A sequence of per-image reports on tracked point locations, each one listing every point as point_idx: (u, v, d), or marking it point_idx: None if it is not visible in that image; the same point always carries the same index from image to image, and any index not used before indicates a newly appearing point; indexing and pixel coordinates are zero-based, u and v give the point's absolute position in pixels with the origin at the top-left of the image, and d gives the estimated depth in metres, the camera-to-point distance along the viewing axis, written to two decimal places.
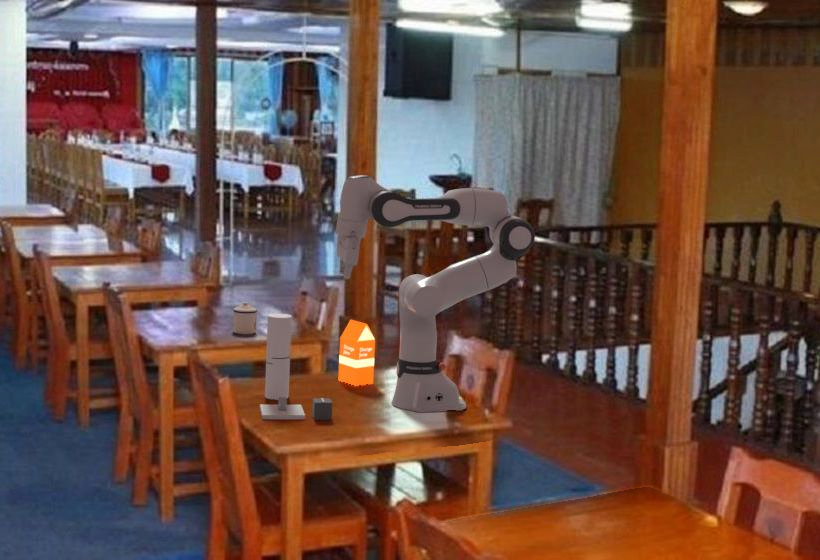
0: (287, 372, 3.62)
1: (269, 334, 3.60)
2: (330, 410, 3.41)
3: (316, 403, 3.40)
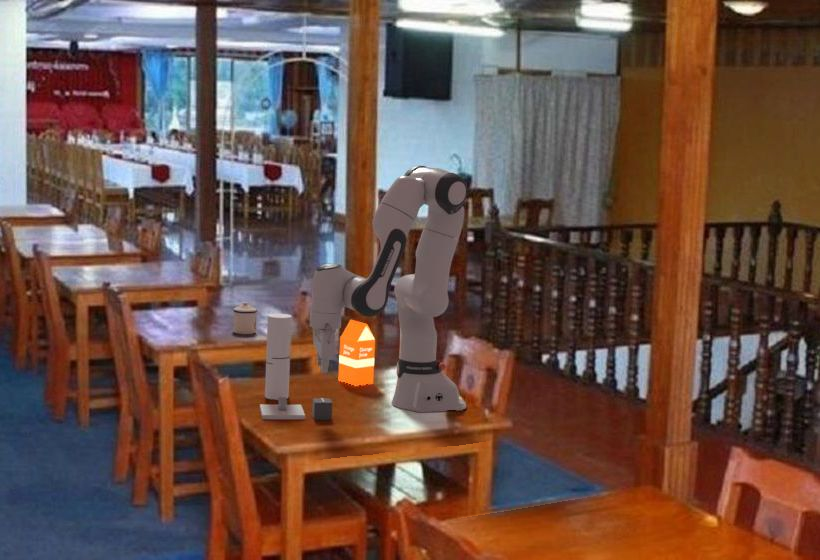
0: (287, 372, 3.62)
1: (269, 334, 3.60)
2: (330, 410, 3.41)
3: (316, 403, 3.40)
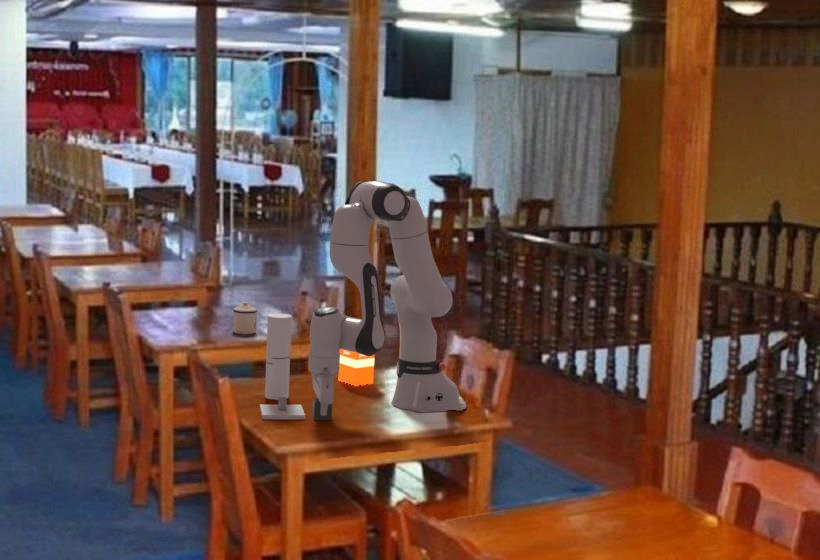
0: (287, 372, 3.62)
1: (269, 334, 3.60)
2: (330, 410, 3.41)
3: (316, 403, 3.40)
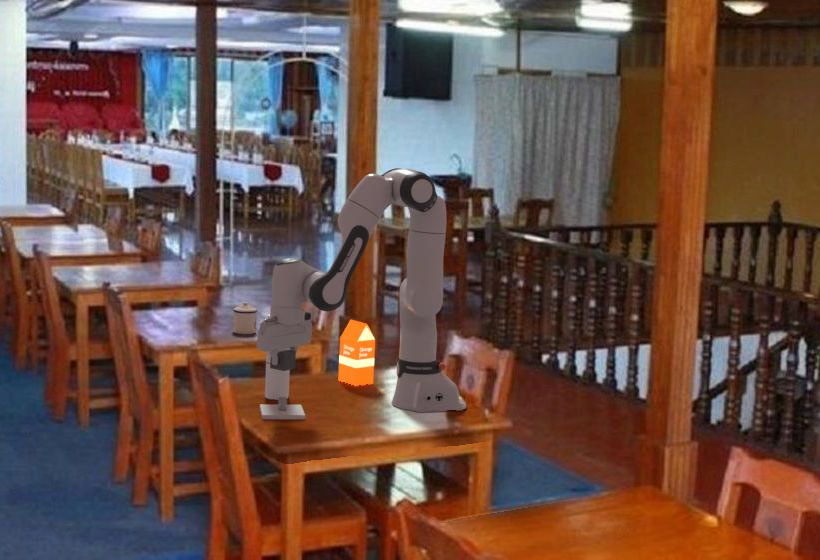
0: (287, 372, 3.62)
1: None
2: (282, 361, 3.40)
3: None
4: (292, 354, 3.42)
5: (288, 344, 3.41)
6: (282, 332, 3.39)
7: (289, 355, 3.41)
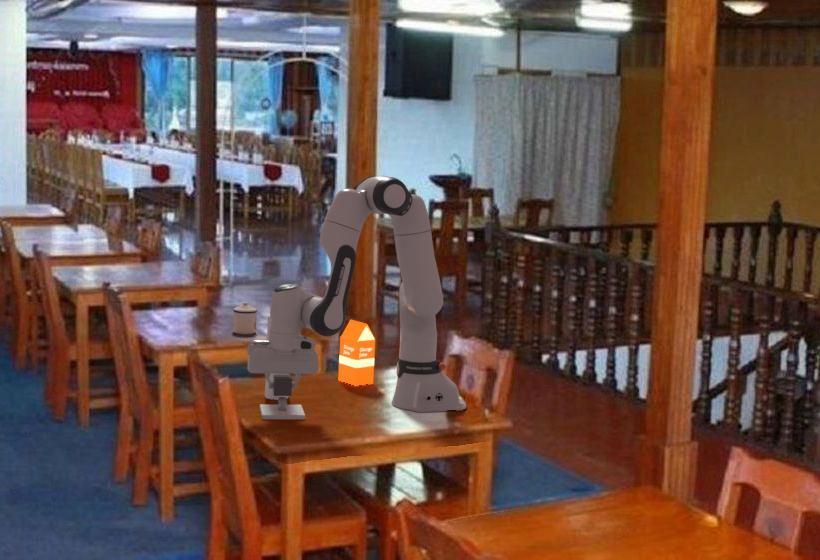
0: None
1: None
2: (274, 385, 3.42)
3: (273, 375, 3.46)
4: (286, 381, 3.42)
5: (282, 370, 3.42)
6: (274, 357, 3.41)
7: (282, 381, 3.42)
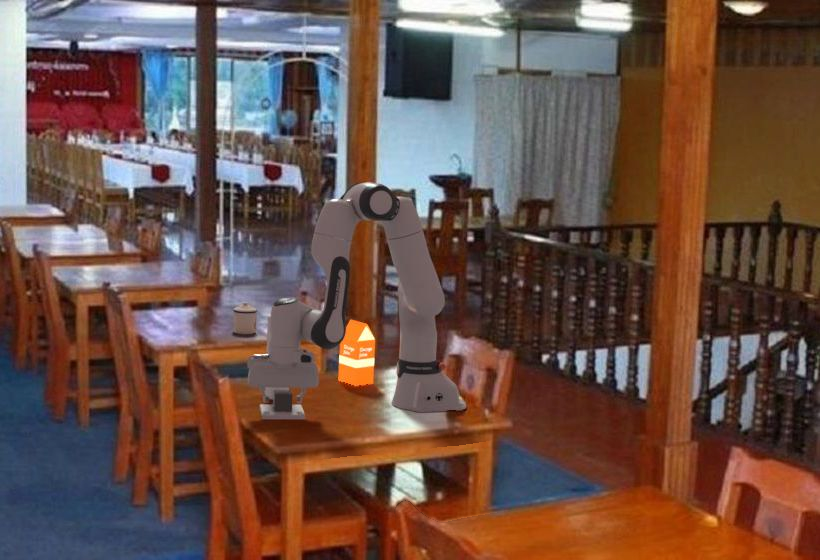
0: None
1: (269, 334, 3.60)
2: (274, 401, 3.43)
3: None
4: (287, 396, 3.43)
5: (282, 383, 3.42)
6: (274, 370, 3.42)
7: (282, 397, 3.43)
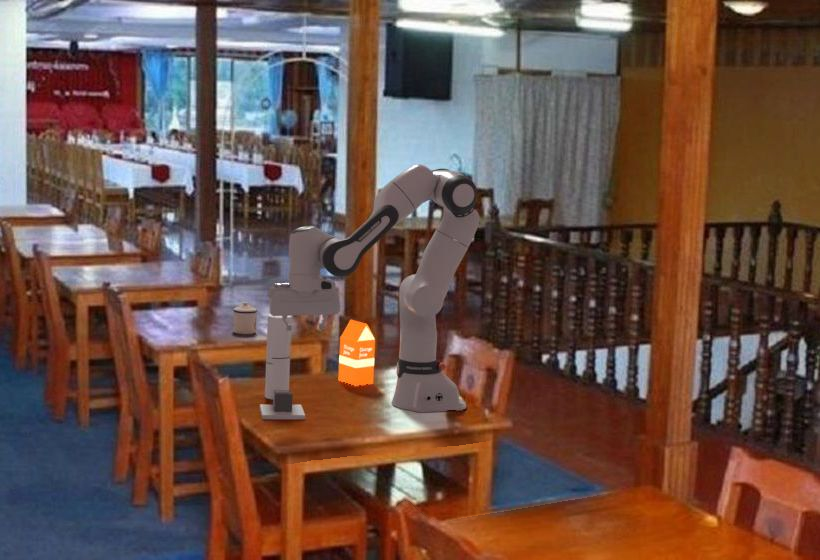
0: (287, 372, 3.62)
1: (269, 334, 3.60)
2: (274, 401, 3.43)
3: None
4: (287, 396, 3.43)
5: (304, 311, 3.45)
6: (295, 299, 3.44)
7: (282, 397, 3.43)
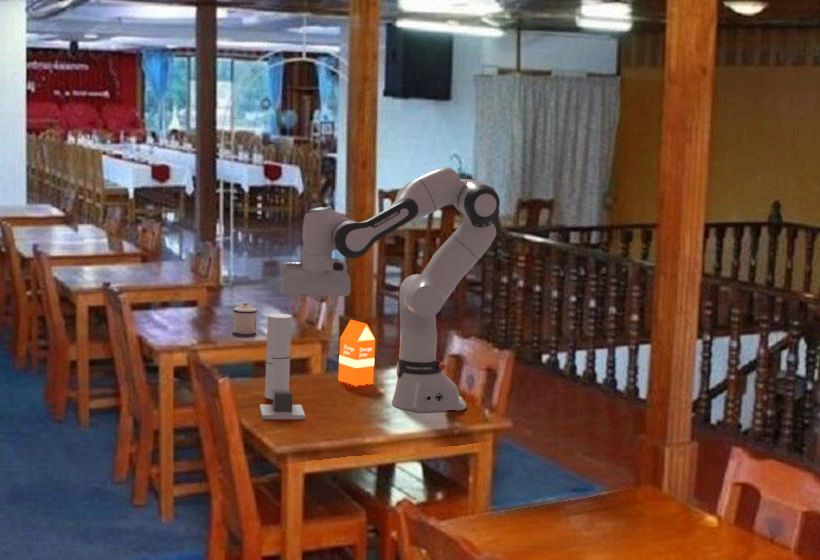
0: (287, 372, 3.62)
1: (269, 334, 3.60)
2: (274, 401, 3.43)
3: None
4: (287, 396, 3.43)
5: (315, 291, 3.47)
6: (306, 278, 3.47)
7: (282, 397, 3.43)
